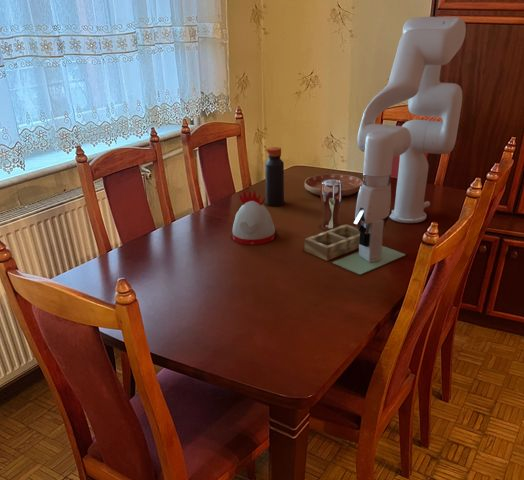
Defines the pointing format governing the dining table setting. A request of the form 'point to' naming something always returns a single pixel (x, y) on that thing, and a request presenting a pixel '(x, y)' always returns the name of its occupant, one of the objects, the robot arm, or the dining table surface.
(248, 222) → the kitchen timer
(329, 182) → the beer glass
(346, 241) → the rack
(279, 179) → the bottle
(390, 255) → the placemat
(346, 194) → the shallow brown bowl
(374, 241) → the cosmetic box
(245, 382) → the dining table surface
